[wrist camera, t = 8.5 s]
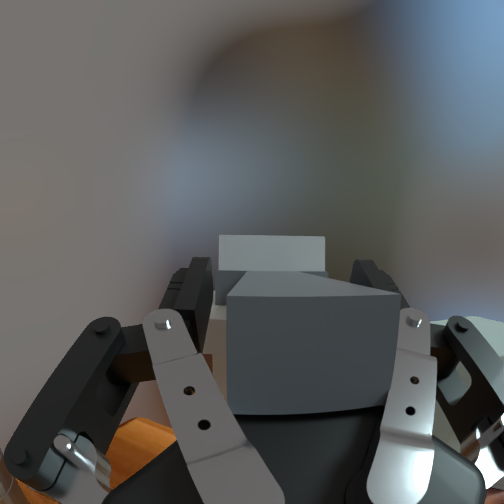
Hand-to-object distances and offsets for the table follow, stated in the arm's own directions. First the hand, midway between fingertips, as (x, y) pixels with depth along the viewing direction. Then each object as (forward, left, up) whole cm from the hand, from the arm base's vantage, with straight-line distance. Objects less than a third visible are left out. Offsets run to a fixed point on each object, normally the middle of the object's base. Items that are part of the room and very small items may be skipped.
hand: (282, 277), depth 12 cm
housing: (-1, +4, -2) cm, 5 cm away
